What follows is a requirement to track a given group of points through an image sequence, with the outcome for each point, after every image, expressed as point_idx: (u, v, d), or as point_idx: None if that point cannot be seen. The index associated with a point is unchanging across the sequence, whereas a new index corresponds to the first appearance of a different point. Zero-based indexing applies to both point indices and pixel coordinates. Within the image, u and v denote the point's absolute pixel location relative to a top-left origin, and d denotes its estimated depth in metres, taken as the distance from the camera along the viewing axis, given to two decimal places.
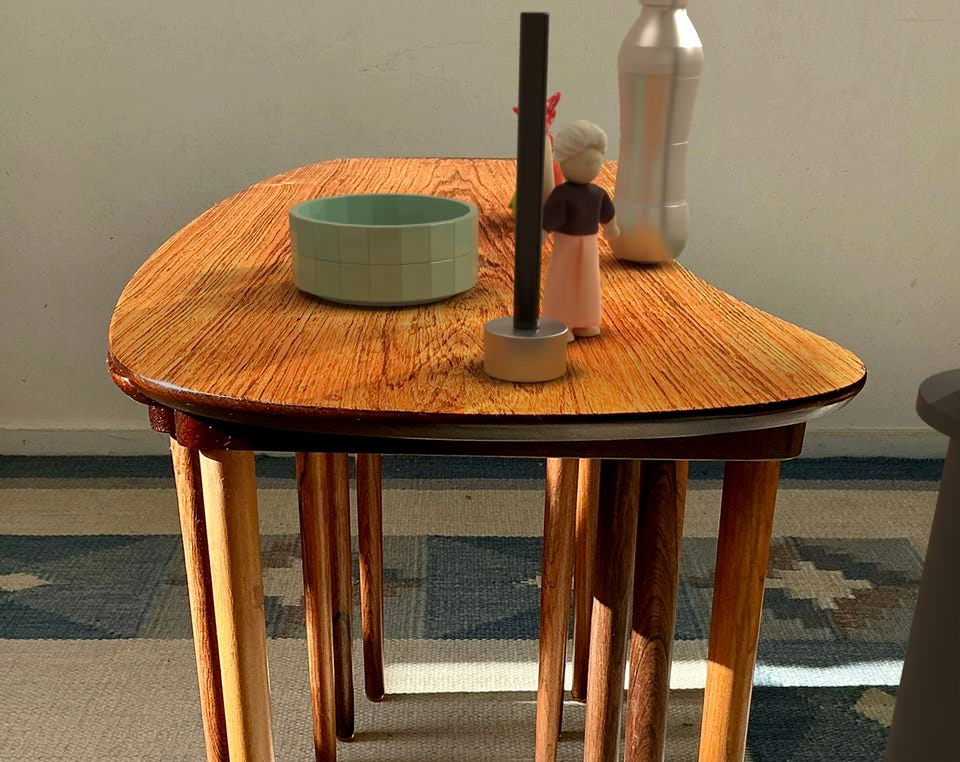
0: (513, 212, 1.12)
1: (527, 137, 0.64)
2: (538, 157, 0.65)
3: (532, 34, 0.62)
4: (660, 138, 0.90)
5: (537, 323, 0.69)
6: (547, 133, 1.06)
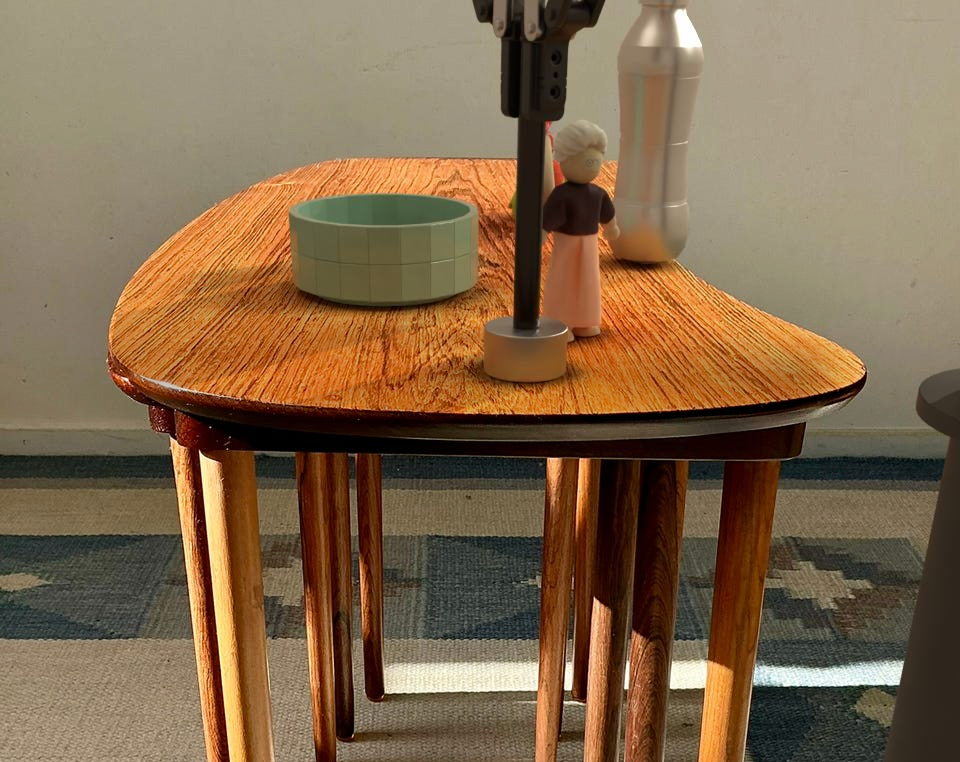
0: (513, 212, 1.12)
1: (527, 137, 0.64)
2: (538, 157, 0.65)
3: None
4: (660, 138, 0.90)
5: (537, 323, 0.69)
6: (547, 133, 1.06)
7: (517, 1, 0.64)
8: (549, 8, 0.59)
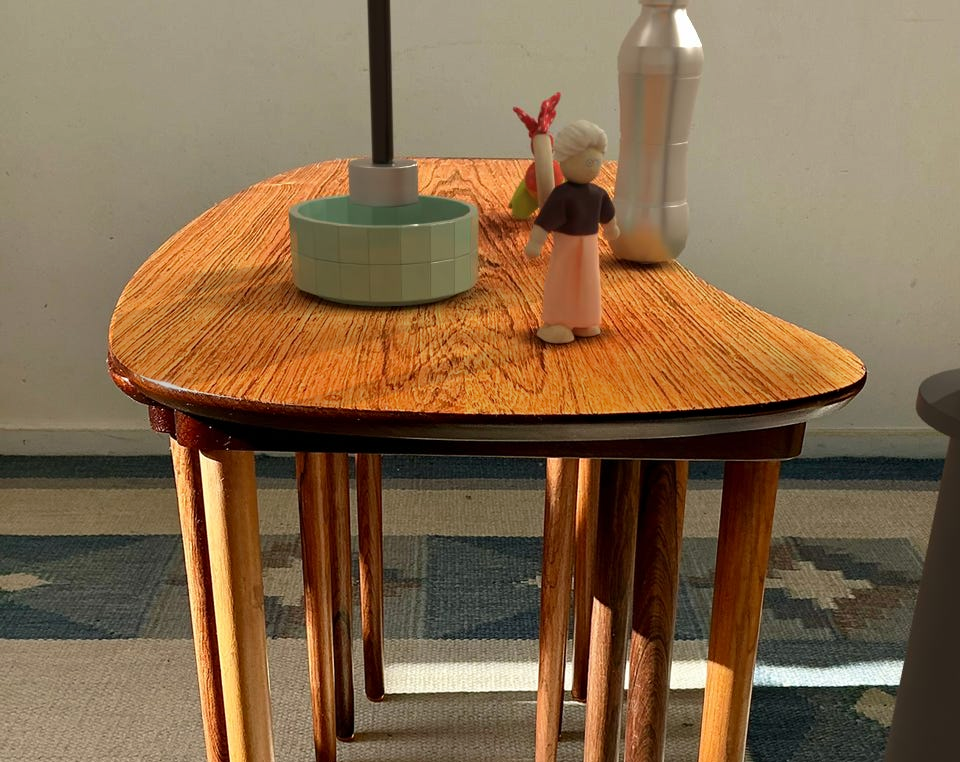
0: (513, 212, 1.12)
1: None
2: (384, 14, 0.79)
3: None
4: (660, 138, 0.90)
5: (391, 159, 0.84)
6: (547, 133, 1.06)
7: None
8: None
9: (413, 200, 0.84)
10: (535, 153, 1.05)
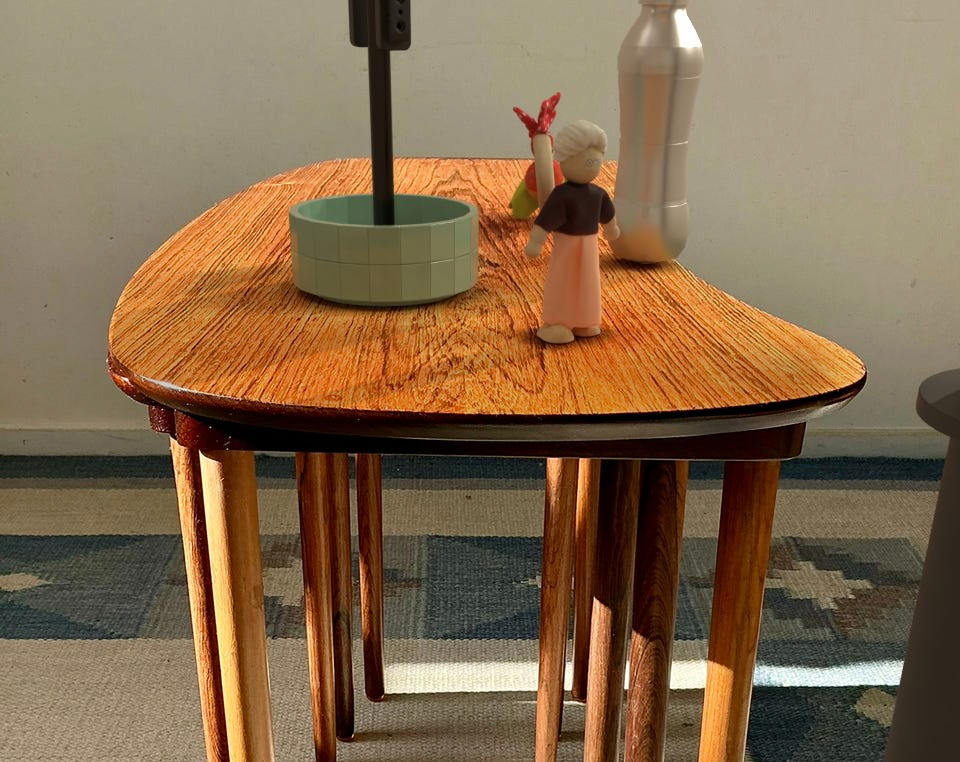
0: (513, 212, 1.12)
1: (375, 87, 0.81)
2: (385, 103, 0.82)
3: (374, 5, 0.79)
4: (660, 138, 0.90)
5: None
6: (547, 133, 1.06)
7: None
8: None
9: None
10: (535, 153, 1.05)
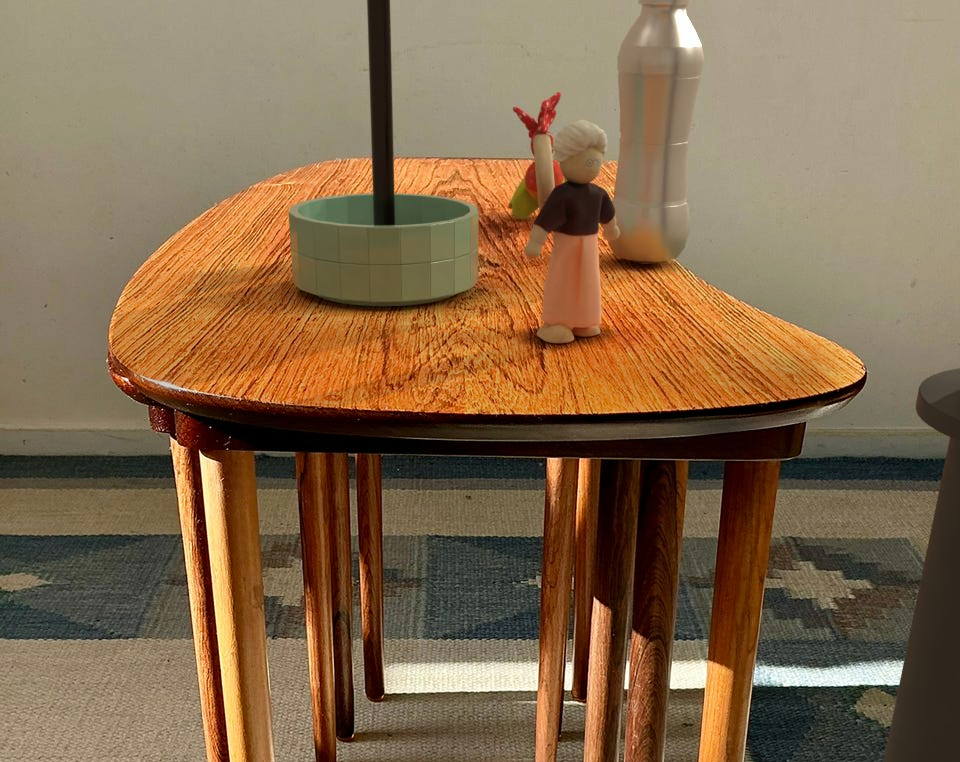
0: (513, 212, 1.12)
1: (376, 88, 0.81)
2: (386, 104, 0.82)
3: (376, 5, 0.79)
4: (660, 138, 0.90)
5: None
6: (547, 133, 1.06)
7: None
8: None
9: None
10: (535, 153, 1.05)
